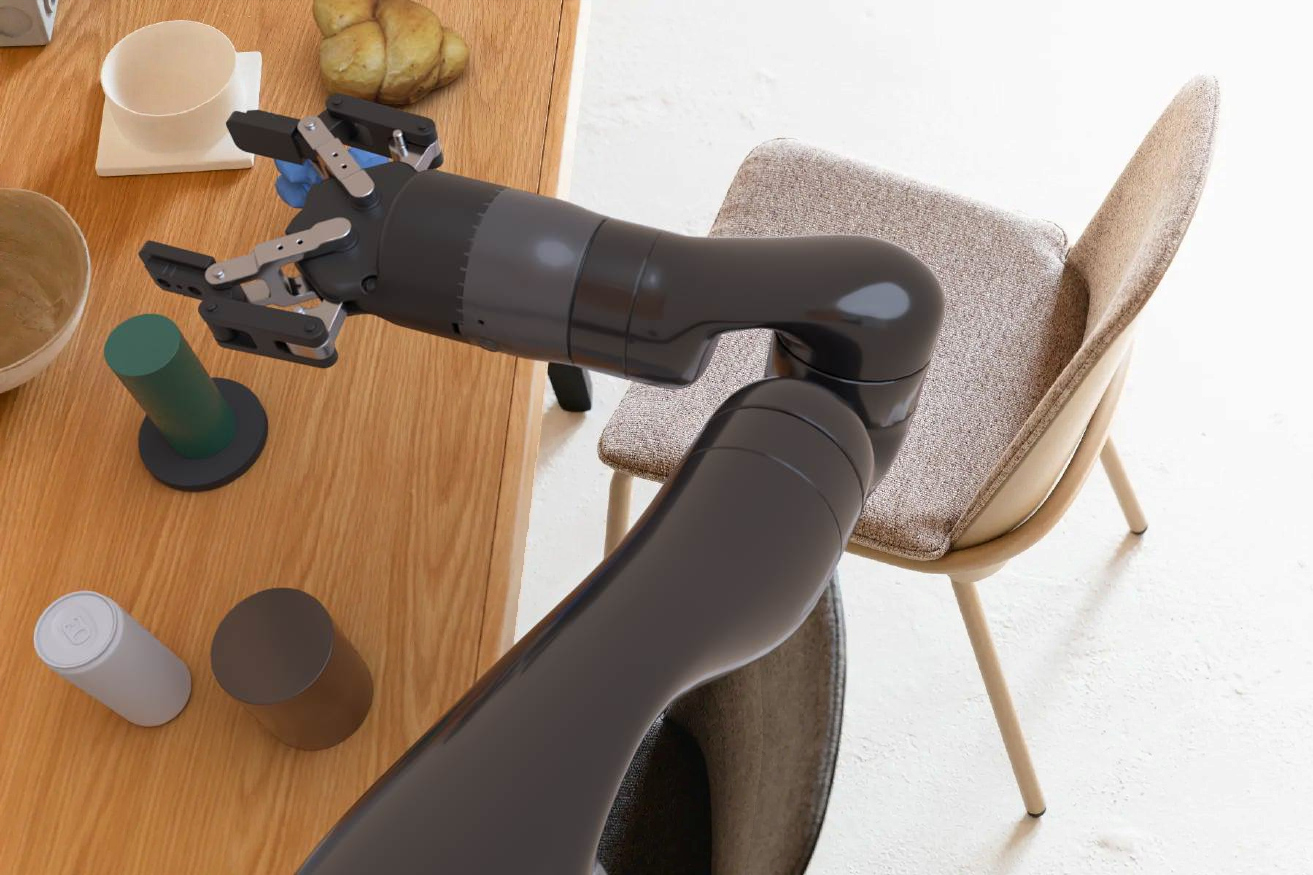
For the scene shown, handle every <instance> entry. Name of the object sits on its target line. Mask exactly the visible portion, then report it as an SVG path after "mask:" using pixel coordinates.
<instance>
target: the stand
mask: <svg viewBox="0 0 1313 875" xmlns="http://www.w3.org/2000/svg"><path fill="white" fill-rule="evenodd" d="M215 630H216V631H215V633H214V635H213V638H212V642H211V646H210V665H211V671H212V673H213V676H214V678H215V680H216V682H217V683H218V685H219V686H220V688H221V689H222V690H223V692H225V693H226V694H227V695H228V696H229V697H230V698H232V699H233V700H234V701H236V703H237V704H238V705H239V706H241V707H242V708H243V709H244V710H245V711H246V712H248V713H249V714H250V715H251V716H252V717H253V718H254V719H256V720H257V722H259V723H260V724H261V725H262V726H264V728H266V729H267V730H268V731H269V732H270V733H271V734H273V736H275V737H276V738H277V739H278V740H279V741H280V742H282V743H283V744H285V745H287V746H289V747H290V748H294V749H296V750H301V751H312V752H313V751H321V750H325V749H329V748H331V747H334V746H336V745H339V744H340V743H343V742H344V741H345V740H347V739H348V738H350V737H351V736H352V735H354V733H355V732H356V731H357V730H358V729H359V728H360V726H361V725H362V724H363V723H364V721H365V720H366V718H367V716H368V714H369V711H370V710H371V707H372V703H373V699H374V681H373V677H372V676H373V675H372V673H371V671H370V669H369V667H368V664H367V663H366V662H365V660H364V659H363V658H362V656H361V655H360V653H359V652H358V651H357V650H356V648H355V647H354V646H353V643H351V641H350V640H349V639H348V637H347V636H346V635H345V633H344V632H343V630H342V629H341V627H340V626H339V625H338V624H337V622H336V621H335V620H334V618H333V617H332V615H331V614H330V612H329V611H328V610H327V609H326V607H325V606H324V604H323V603H321V602H320V600H318V598H316V597H315V596H313V595H312V594H310V593H307V592H306V591H303V590H300V589H296V588H292V587H273V588H268V589H264V590H260V591H257V592H255V593H253V594H251V595H249V596H247V597H245V598H243V599H242V600H240V602H238V603H237V604H236V605H234V606H233V607H232V608H231V609H230V610H229V611H228V612H227V614H225V616H224V617H223V618H222V620H221V621H220V623H219V625H218V627H217V628H216V629H215Z"/></svg>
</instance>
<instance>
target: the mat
mask: <svg viewBox="0 0 1313 875" xmlns="http://www.w3.org/2000/svg"><path fill="white" fill-rule="evenodd" d="M211 379H212V380H213V382H214V383H215V385H216V386H217V388H218V389H219V391H220V392H221V394H222V395H223V397H224V399H225V400H226V402H227V403H228V405H229V406H230V408H231V409H232V411H233V412H234V414H235V417H236V421H237V427H236V432H235V435H234V437H233V439H232V440H231V442H230V443H229V444H228V445H227V446H226V447H225V448H224V449H223V450H221V451H220V452H218V453H217V454H215V455H212V456H210V457H206V458H201V459H192V458H187V457H184V456H182V455H180V454H179V453H177V452H176V451H175V450H174V449H173V447H172V446H171V445H170V443H169V442H168V441H167V440H166V438H165V437H164V436H163V435H162V433H161V432H160V431H159V429H158V428H157V427H156V426H155V424H154V423H153V422H152V421H151V419H150V418H149V417H148V415H147V414H146V415H145V416H144V418H143V420H142V423H141V425H140V428H139V432H138V437H137V448H138V453H139V456H140V460H141V461H142V463H143V465H144V466H145V468H146V469H147V471H148V472H149V473H150V474H151V475H152V476H153V477H154V478H155V479H156V480H157V481H158V482H160V483H161V484H163V485H164V486H167V487H169V488H171V489H174V490H177V491H182V492H188V493H189V492H191V493H195V492H196V493H197V492H205V491H211V490H214V489H219V488H221V487H223V486H225V485H226V486H227V485H228V484H229V483H232V482H234V481H236V480H237V479H238V478H240V477H241V476H242V475H243V474H245V473H246V472H247V471H248V470H249V469H250V468H251V467H252V466H253V465H254V464H255V463H256V461H257V460H258V458H259V457H260V456H261V454H262V452H263V450H264V447H265V446H266V442H267V438H268V434H269V420H268V415H267V413H266V410H265V408H264V407H263V405H262V403H261V401H260V400H259V397H257V395H256V393H254V392H253V391H252V390H251V389H250V388H249V387H248V386H245V385H244V384H242V383H240V382H238V381H236V380H233V379H229V378H224V377H211Z"/></svg>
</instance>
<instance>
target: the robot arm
mask: <svg viewBox="0 0 1313 875" xmlns="http://www.w3.org/2000/svg"><path fill="white" fill-rule="evenodd" d="M325 107H326V108H325V109H324V110H323V111H321V112H320V113H319V114H318V115H317V116H316V115H308V116H305V117H302V118H295V117H292V116H288V115H282V114H278V113H275V112H269V111H266V110H261V109H248V110H246V112H244V111H239V110H234V111H232V112H231V114H230V116H229V117H228V118H227V120H226V122H225V126H226V129H227V130H228V133H229V134H230V137H231V139H232V141H233V143H234V145H235V146H236V148H238V149H239V150H241V151H242V152H245V153H249V154H252V155H257V156H260V157H265V158H270V159H272V160H274V159H277V160H281V161H285V162H289V163H294V164H298V165H302V166H303V165H304V163H305V162H306V160H307V159H310V160H311V163H312V165H313V166H314V167H315V169H316V170H317V171H318V173H319V174H320V175H321V177H322V178H323V179H324V181H323V182H321V183H320V184H317V183H313V185H312V187H311V188H310V190H309V192H308V193H307V196H306V200H305V204H304V207H303V209H300V210H299V212H298V213H297V214H296V215H294V217H292V219H291V221H290V222H289V224H288V225H287V227H286V229H285V230H284V233H285V235H284V236H280V237H277V238H273V239H269V240H265V241H263V242H259V243H257V244H256V245H254V247H253V250H252V252H250V253H247V254H244V255H240V256H237V257H233V258H230V259H226V260H221V261H218V262H217V261H216V259H215V257H214V256H212V255H209V254H205V253H201V252H197V251H193V250H189V249H185V248H181V247H177V246H173V245H170V244H166V243H161V242H158V241H154V240H146V241H145V242H144V244H143V245H142V247H141V248H140V250H139V251H138V253H137V255H138V257H139V258H140V260H141V262H142V263H143V265H144V268H145V270H146V271H147V273H148V275H149V276H150V278H151V279H152V280H153V282H154V284H155V285H156V286H157V287H158V288H160V289H161V290H162V291H164V292H168V293H172V294H176V295H180V296H181V295H182V296H183V297H187V298H191V299H195V300H198V301H201V302H199V305H198V307H197V312H198V314H199V316H200V318H201V319H202V320H203V322H205V324H206V325H207V327H208V329H209V331H210V332H211V333H212V335H213V339H214V341H215V342H216V343H217V345H218V346H219V347H221V348H223V349H227V350H231V351H236V352H241V353H246V354H251V355H255V356H260V357H265V358H269V359H275V360H280V361H283V362H289V363H294V364H298V365H304V366H307V367H312V368H318V369H323V370H324V369H329V368H332V367H333V366H335V364H336V363H337V362H338V360H339V352H338V350H337V348H336V340H337V338H338V336H339V333H340V332H341V330H342V327H343V325H344V323H345V321H346V319H347V317H348V318H349V317H354V316H359V315H371V316H375V317H378V318H380V319H382V320H384V321H387V322H389V323H390V324H393V325H395V326H397V327H401V328H405V329H409V330H413V331H417V332H420V333H424V334H428V335H432V336H435V337H438V338H439V337H440V338H443V339H448V340H452V341H455V342H458V343H462V344H465V345H470V346H473V347H477V348H480V349H483V350H485V351H488V352H490V353H491V352H492V353H499V354H504V355H508V356H512V357H515V358H521V359H525V360H529V361H536V362H543V363H553V364H562V365H567V366H571V367H577V368H579V369H584V370H587V371H591V372H595V373H599V374H603V375H607V376H610V377H614V378H618V379H621V380H626V381H630V382H633V383H638V384H641V385H647V386H650V387H655V388H658V389H659V388H660V389H668V390H683V389H685V388H689V387H691V386H694V384H695V383H697V382H698V381H699V380H700V378H701V377H702V376H703V375H704V374H705V372H706V370H707V369H708V367H709V365H710V363H711V360H712V359H713V358H714V354H715V352H716V350H717V347H718V345H719V343H720V340H721V337H722V335H726V334H730V333H734V332H742V331H743V332H744V331H750V330H769V331H771V335H770V342H769V347H768V352H767V357H766V363H765V367H764V371H763V377H762V378H759V379H756V380H753V381H750V382H748V383H747V384H745V385H742V386H741V387H739V388H738V389H737V390H735V391H734V392H733V393H731V394H730V395H729V396H728V397H727V398H726V399H725V400H723V402H722V403H720V405H719V406H718V407H717V408H716V410H715V411H713V413H712V414H711V415H710V416H709V418H708V419H707V421H706V422H705V423H704V425H703V426H702V428H701V430H700V431H699V432H698V433H697V435H696V436H695V437H694V439H693V440H692V441H691V443H690V444H689V446H688V447H687V449H686V451H685V452H684V454H683V455H682V456H681V458H680V459H679V461H678V462H677V463H676V465H675V467H674V468H673V470H672V471H671V472H670V474H669V475H668V477H667V478H666V480H665V481H664V482H663V484H662V485H661V487H660V488H659V489H658V492H657V493H656V495H654V498H653V499H652V500H651V502H650V503H649V505H648V506H647V507H646V508H645V510H644V511H643V512H642V513H641V515H640V516H639V517H638V519H637V520H636V522H635V523H634V524H633V525H632V527H631V528H630V529H629V530H628V531H627V532H626V534H625V535H624V536H623V537H622V539H621V540H619V542H617V544H616V546H614V548H613V549H611V551H610V552H609V553H608V555H606V556H605V557H604V559H603V560H602V561H601V562H600V563H598V565H597V566H596V567H595V568H594V569H592V571H591V572H590V573H589V574H588V575H587V576H586V577H585V578H584V579H583V580H581V582H580V583H579V584H578V585H577V586H576V587H575V588H573V590H571V591H570V592H569V593H568V594H567V595H566V596H565V597H564V598H562V600H560V602H558V604H557V605H556V606H554V607H553V609H551V610H550V611H549V612H548V613H547V614H546V615H545V616H543V618H541V620H539V621H538V622H537V623H536V624H535V625H534V626H533V627H532V628H531V629H530V630H529V631H527V632H526V633H525V634H524V636H522V637H521V638H520V639H519V640H518V641H517V642H516V643H515V644H514V645H513V646H512V647H511V648H510V649H508V650H507V652H505V653H504V654H503V655H502V656H501V657H500V658H499V659H498V660H497V661H496V662H495V663H494V664H493V665H492V666H491V667H490V668H488V670H487V671H486V672H484V674H482V675H481V676H480V678H479V679H477V680H476V681H475V683H473V684H472V686H471V687H470V688H468V690H466V692H464V693H463V695H462V696H461V697H460V698H459V699H458V700H457V701H456V702H455V703H454V704H453V705H451V707H450V708H449V709H448V710H447V711H445V712H444V714H442V716H440V717H439V719H437V721H435V722H434V723H433V724H432V725H431V726H430V727H429V728H428V729H427V730H426V731H425V732H424V733H423V734H422V735H421V736H420V737H419V738H418V739H417V740H416V741H415V742H414V743H413V744H412V745H411V746H410V747H408V749H407V750H406V751H405V752H403V754H402V755H401V756H400V757H398V759H397V760H396V761H394V763H393V764H392V765H391V766H390V767H389V768H388V769H387V770H386V771H385V772H383V774H382V775H381V776H380V777H378V778H377V780H376V781H375V782H374V783H372V784H371V785H370V786H369V787H368V788H367V789H366V791H365V792H363V794H362V795H361V796H360V797H359V798H358V799H357V800H356V801H355V802H354V803H353V804H352V805H351V806H350V808H348V809H347V810H346V812H345V813H344V814H343V815H342V816H341V817H340V818H339V820H337V821H336V823H335V824H334V825H333V826H332V827H331V828H330V829H329V830H328V831H327V833H326V834H325V835H324V836H323V837H322V838H321V839H320V840H319V841H318V843H317V844H316V846H315V847H314V848H313V849H312V850H311V851H310V852H309V854H308V855H307V856H306V857H305V858H304V860H303V861H302V863H301V864H300V865H299V866H298V868H297V869H296V870H295V871H294V872H293V874H292V875H610V873H609V871H608V869H607V868H606V866H605V865H604V863H603V861H602V859H601V858H600V856H599V855H598V851H599V850H598V849H599V845H600V842H601V839H602V836H603V832H604V829H605V826H606V824H607V820H608V818H609V816H610V813H611V810H612V809H613V806H614V804H615V800H616V798H617V796H618V793H619V790H620V788H621V785H622V784H623V781H624V779H625V777H626V775H627V773H628V771H629V769H630V766H631V764H632V762H633V759H634V758H635V756H636V753H637V752H638V749H639V748H640V746H641V744H642V743H643V741H644V739H645V737H646V735H647V734H648V733H649V731H650V730H651V728H652V727H653V725H655V723H656V722H657V721H658V720H659V718H661V716H662V715H663V714H664V712H665V711H666V710H668V708H669V707H670V706H672V705H673V704H675V703H676V702H677V701H679V700H680V699H682V698H683V697H685V696H686V695H687V694H690V693H692V692H694V691H696V690H698V689H700V688H702V687H704V686H706V685H708V684H710V683H713V682H715V681H718V680H721V679H722V678H726V677H727V676H729V675H731V674H734V673H736V672H738V671H740V670H742V669H744V668H745V667H747V666H750V665H752V664H754V663H756V662H757V661H760V660H762V659H763V658H765V657H766V656H768V655H769V654H771V653H773V651H775V650H776V649H777V648H778V647H780V646H781V645H782V644H783V643H785V641H787V640H788V639H789V638H790V637H791V636H792V635H793V634H794V633H795V632H796V631H797V630H798V629H799V628H800V627H801V626H802V625H803V623H804V622H805V621H806V620H807V618H808V617H809V616H810V614H811V613H812V612H813V610H814V609H815V608H816V605H817V604H818V602H819V601H820V599H821V598H822V596H823V593H824V592H825V590H826V588H827V586H828V585H829V583H830V581H831V579H832V577H833V575H834V573H835V571H836V569H837V567H838V566H839V562H840V561H841V558H842V556H843V554H844V552H845V550H846V548H847V547H848V544H849V541H850V540H851V537H852V535H853V533H854V532H855V529H856V528H857V525H858V523H859V521H860V518H861V516H862V514H863V511H864V509H865V506H866V503H867V501H868V499H869V498H870V497H871V495H872V494H873V493H874V492H875V491H876V490H877V488H878V487H879V485H880V484H881V483H882V482H883V481H884V479H885V478H886V476H887V475H888V473H889V472H890V471H891V469H892V467H893V465H894V463H895V462H896V460H897V457H898V456H899V455H900V454H899V453H900V451H901V450H902V448H903V445H904V443H905V441H906V439H907V436H908V434H909V431H910V429H911V427H912V423H913V420H914V419H915V418H914V417H915V415H916V412H917V408H918V405H919V401H920V399H921V395H922V392H923V389H924V386H925V382H926V378H927V375H928V372H929V369H930V365H931V362H932V360H933V355H934V353H935V350H936V347H937V344H938V340H939V337H940V334H941V330H942V328H943V323H944V318H945V315H946V314H945V313H946V312H945V310H946V296H945V292H944V288H943V286H942V283H941V282H940V280H939V278H938V277H937V275H936V273H935V272H934V271H933V270H932V269H931V267H930V266H929V265H928V264H927V263H926V262H925V261H924V260H923V259H922V258H920V257H919V256H918V255H916V254H915V253H914V252H912V251H911V250H909V249H907V248H905V247H903V246H901V245H899V244H898V243H896V242H893V241H891V240H888V239H884V238H882V237H877V236H873V235H868V234H859V233H837V232H836V233H834V232H833V233H831V232H830V233H813V234H797V235H777V236H776V235H775V236H743V235H741V236H697V235H696V236H695V235H688V234H684V233H680V232H676V231H671V230H666V229H662V228H657V227H653V226H649V225H645V224H642V223H641V224H640V223H636V222H632V221H628V220H624V219H620V218H615V217H611V216H609V215H605V214H601V213H599V212H596V211H593V210H592V209H591V210H590V209H589V208H585V207H583V206H581V205H579V204H575V203H572V202H570V201H567V200H563V199H559V198H557V197H553V196H548V195H545V194H541V193H536V192H533V191H527V190H523V189H519V188H514V187H510V186H506V185H502V184H498V183H492V182H490V181H489V182H488V181H484V180H481V179H476V178H472V177H468V176H464V175H460V174H456V173H451V172H447V171H442V170H439V169H438V168H440V167H442V166H443V164H444V162H445V158H444V154H443V150H442V146H441V145H442V144H441V142H440V138H439V134H438V129H437V126H436V123H435V121H434V120H433V119H432V118H430V117H426V116H423V115H419V114H416V113H412V112H410V111H409V112H408V111H406V110H401V109H399V108H395V107H391V106H388V105H385V104H382V103H378V102H375V101H373V102H370V101H367V100H363V99H360V98H356V97H353V96H349V95H346V94H341V93H337V94H333V95H331V94H330V95H329V96H328V97H327V98H326V100H325ZM345 146H346V147H349V148H350V147H353V148H357V149H360V150H363V151H367V152H370V153H374V154H377V155H380V156H384V157H387V158H389V159H391V160H392V161H389V162H388V163H384V164H380V165H376V166H372V167H368V168H364V169H362V168H361V167H360V166H359V165H358V163H357V162H356V161H355V159H354V158H353V157H352V156H351V154H350V153H349V152H348V149H347V148H346V147H345ZM289 264H294V266H295V269H296V270H297V271H298V272H299V274H300V275H297V276H293V277H292V276H287V275H285V274H284V272H283V269H282V267H284V266H286V265H289ZM316 299H319V301H320V304H318V305H316V306H314V307H303V305H301V304H302V303H306V302H310V301H313V300H316ZM273 305H274V306H276V307H279V308H276V307H270V306H273ZM292 306H293V307H292ZM288 307H289V308H290V307H292V308H291V311H290V310H285V309H280V308H288Z"/></svg>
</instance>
